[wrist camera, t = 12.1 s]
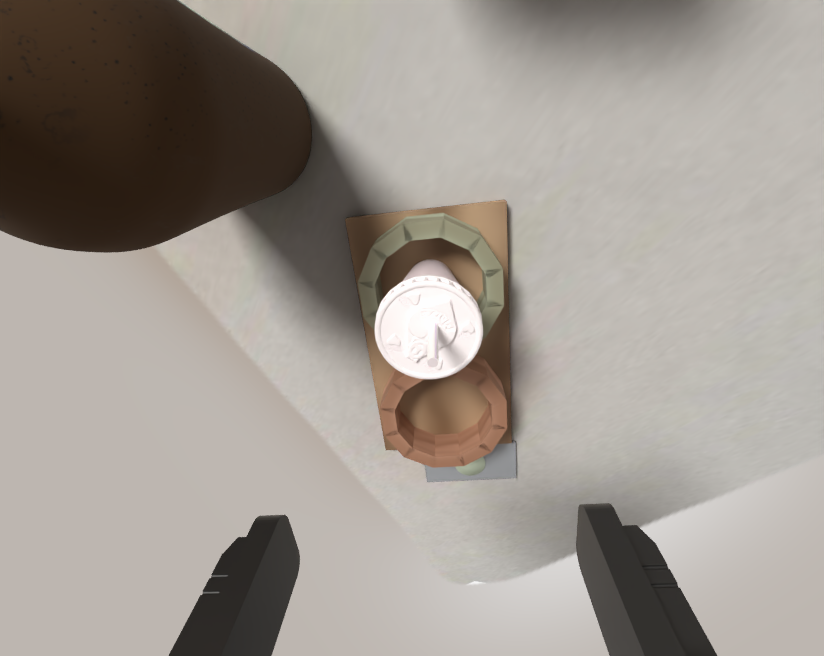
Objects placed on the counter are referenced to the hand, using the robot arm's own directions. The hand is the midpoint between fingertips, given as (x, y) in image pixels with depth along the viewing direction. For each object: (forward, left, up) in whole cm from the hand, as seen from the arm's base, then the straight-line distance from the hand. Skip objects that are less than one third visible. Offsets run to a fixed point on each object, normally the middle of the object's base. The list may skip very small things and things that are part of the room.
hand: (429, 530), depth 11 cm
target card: (-2, +19, -24) cm, 31 cm away
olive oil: (+12, -12, -24) cm, 30 cm away
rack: (0, +6, -24) cm, 25 cm away
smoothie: (0, 0, -23) cm, 23 cm away
